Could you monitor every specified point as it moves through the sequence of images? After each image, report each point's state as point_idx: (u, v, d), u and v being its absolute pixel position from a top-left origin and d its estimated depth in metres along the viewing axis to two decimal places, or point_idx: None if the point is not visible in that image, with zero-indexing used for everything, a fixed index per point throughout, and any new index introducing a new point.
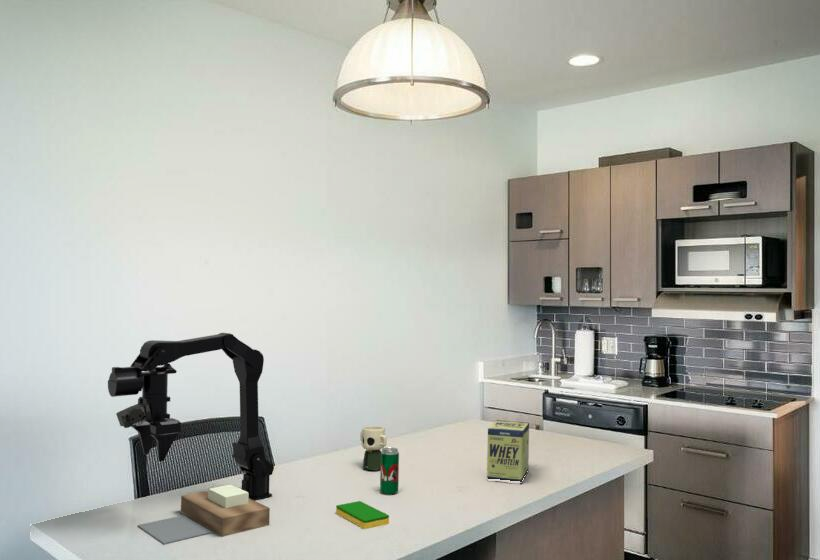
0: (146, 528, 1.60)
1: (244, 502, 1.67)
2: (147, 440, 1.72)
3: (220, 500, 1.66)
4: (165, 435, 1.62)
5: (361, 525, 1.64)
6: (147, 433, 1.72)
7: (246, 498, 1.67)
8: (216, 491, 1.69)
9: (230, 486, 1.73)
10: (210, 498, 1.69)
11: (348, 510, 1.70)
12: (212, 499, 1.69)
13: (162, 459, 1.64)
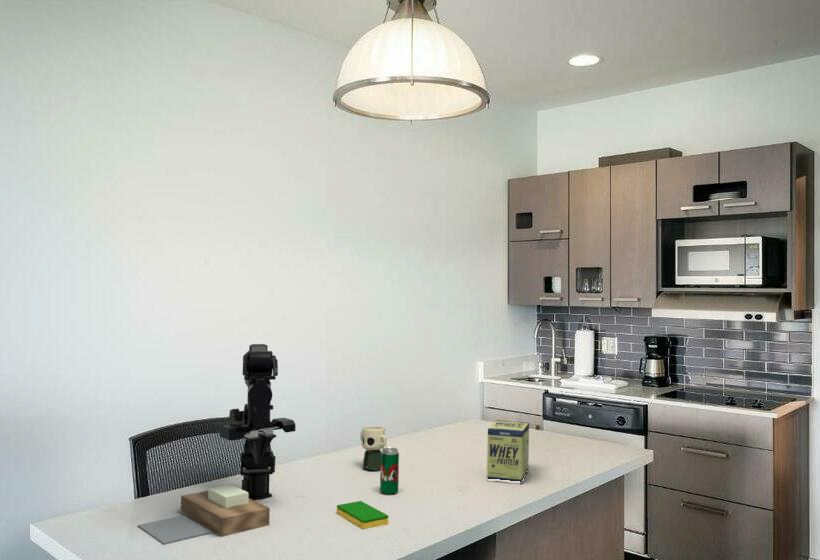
0: (146, 528, 1.60)
1: (244, 502, 1.67)
2: None
3: (220, 500, 1.66)
4: (244, 437, 1.73)
5: (360, 525, 1.64)
6: (260, 443, 1.75)
7: (246, 498, 1.67)
8: (216, 491, 1.69)
9: (230, 486, 1.73)
10: (210, 498, 1.69)
11: (348, 510, 1.70)
12: (212, 499, 1.69)
13: (256, 461, 1.74)
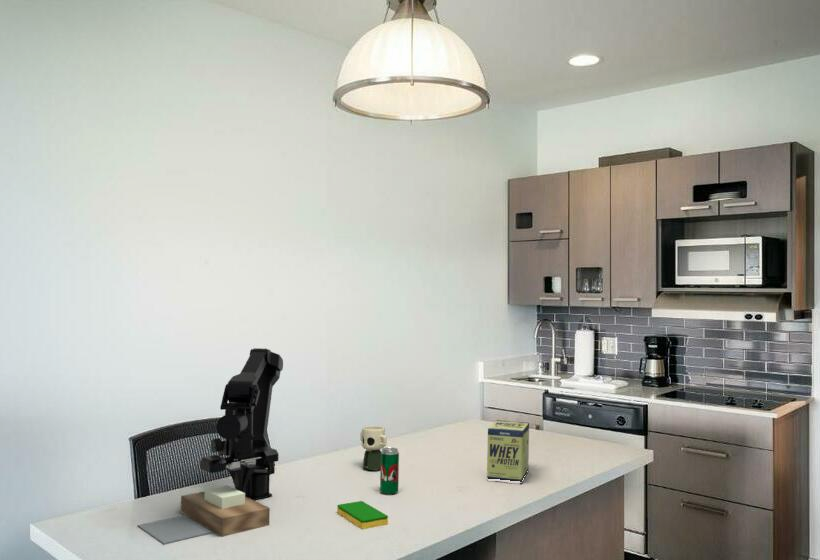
0: (146, 528, 1.60)
1: (241, 503, 1.66)
2: None
3: (217, 501, 1.65)
4: (226, 468, 1.69)
5: (359, 525, 1.64)
6: (242, 474, 1.71)
7: (243, 499, 1.67)
8: (212, 491, 1.68)
9: (226, 487, 1.72)
10: (206, 499, 1.69)
11: (348, 510, 1.70)
12: (208, 500, 1.68)
13: None
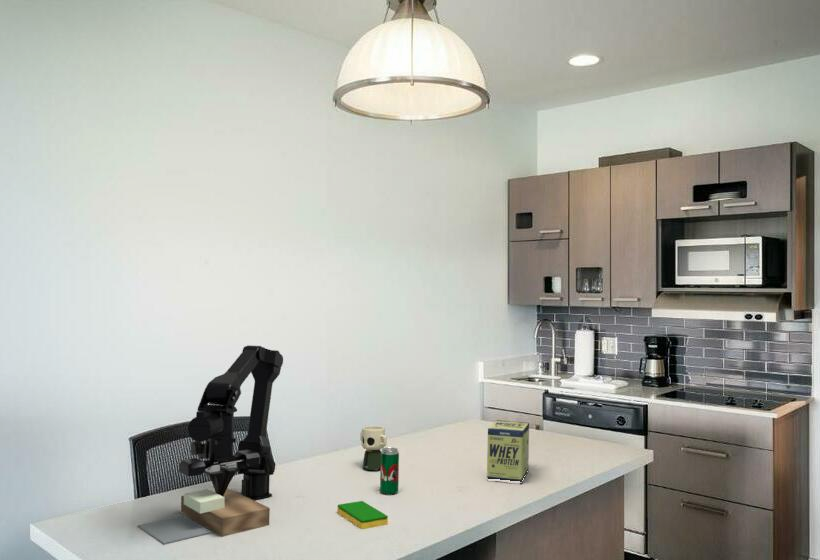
0: (146, 528, 1.60)
1: (220, 507, 1.63)
2: None
3: (195, 505, 1.61)
4: (205, 472, 1.65)
5: (359, 525, 1.64)
6: (223, 477, 1.68)
7: (222, 503, 1.63)
8: (191, 496, 1.64)
9: (206, 490, 1.68)
10: (185, 503, 1.65)
11: (348, 510, 1.70)
12: (187, 504, 1.64)
13: None
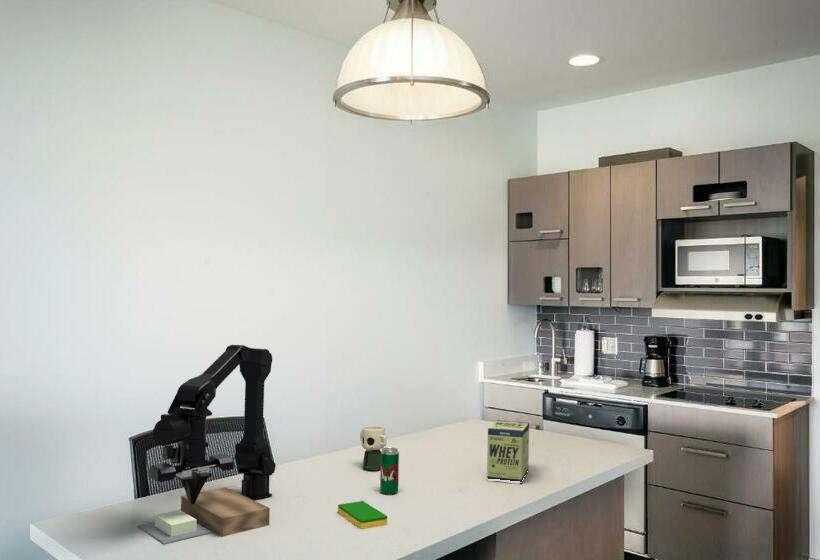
0: (146, 528, 1.60)
1: (175, 525, 1.55)
2: (194, 489, 1.63)
3: None
4: (176, 477, 1.61)
5: (358, 525, 1.64)
6: (195, 483, 1.63)
7: (172, 530, 1.55)
8: None
9: None
10: None
11: (348, 509, 1.70)
12: None
13: (190, 502, 1.62)
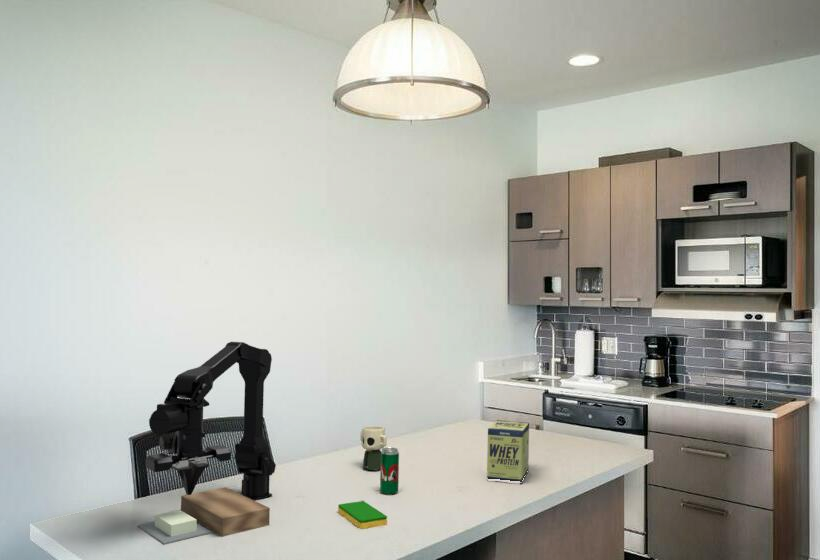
0: (146, 528, 1.60)
1: (175, 525, 1.55)
2: (191, 480, 1.62)
3: None
4: (173, 467, 1.60)
5: (358, 525, 1.64)
6: (192, 473, 1.62)
7: (172, 530, 1.55)
8: None
9: None
10: None
11: (348, 509, 1.70)
12: None
13: (187, 493, 1.62)
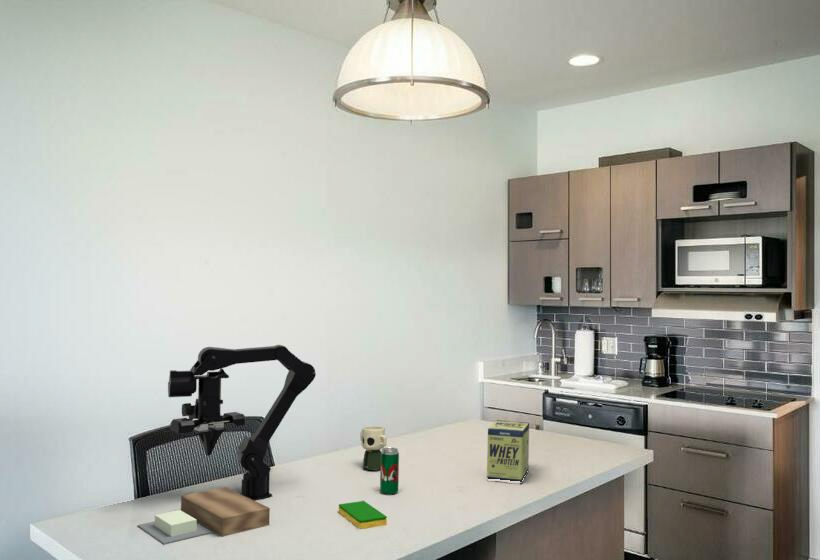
0: (146, 528, 1.60)
1: (175, 525, 1.55)
2: None
3: None
4: (194, 430, 1.80)
5: (357, 525, 1.64)
6: (211, 436, 1.82)
7: (172, 530, 1.55)
8: None
9: None
10: None
11: (348, 509, 1.70)
12: None
13: (206, 453, 1.81)
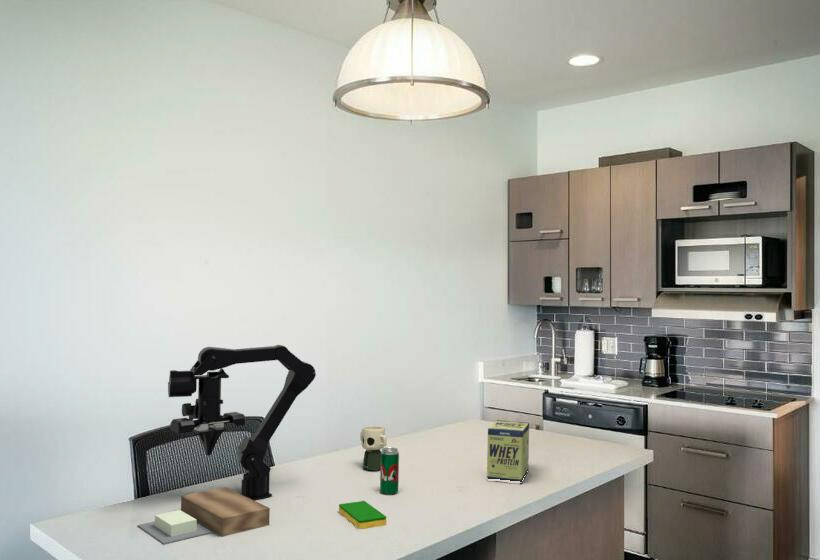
0: (146, 528, 1.60)
1: (175, 525, 1.55)
2: None
3: None
4: (194, 430, 1.80)
5: (357, 525, 1.64)
6: (211, 436, 1.82)
7: (172, 530, 1.55)
8: None
9: None
10: None
11: (348, 509, 1.70)
12: None
13: (206, 453, 1.81)
